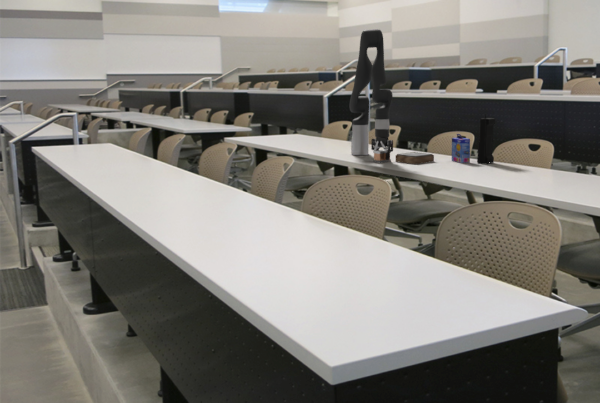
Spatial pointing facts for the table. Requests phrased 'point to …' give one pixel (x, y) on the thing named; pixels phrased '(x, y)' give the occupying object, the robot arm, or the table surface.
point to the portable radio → (485, 140)
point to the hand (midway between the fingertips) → (382, 159)
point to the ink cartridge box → (461, 149)
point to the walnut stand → (414, 157)
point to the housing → (380, 156)
